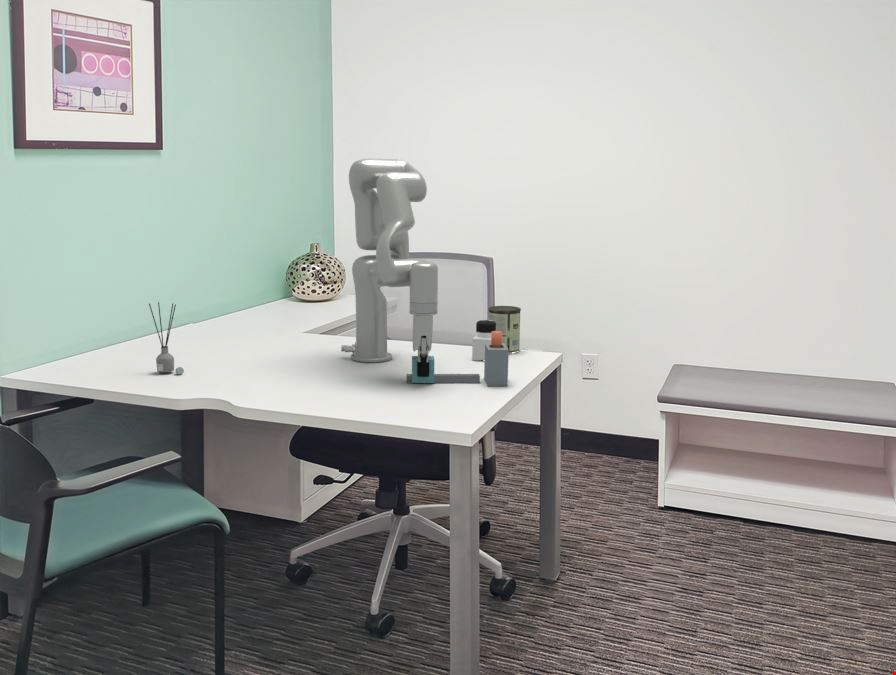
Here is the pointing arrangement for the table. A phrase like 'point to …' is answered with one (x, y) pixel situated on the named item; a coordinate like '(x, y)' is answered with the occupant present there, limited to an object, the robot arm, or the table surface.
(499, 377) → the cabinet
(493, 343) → the plunger
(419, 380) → the block
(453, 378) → the rail
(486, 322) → the medicine bottle
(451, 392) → the table surface
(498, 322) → the coffee can
